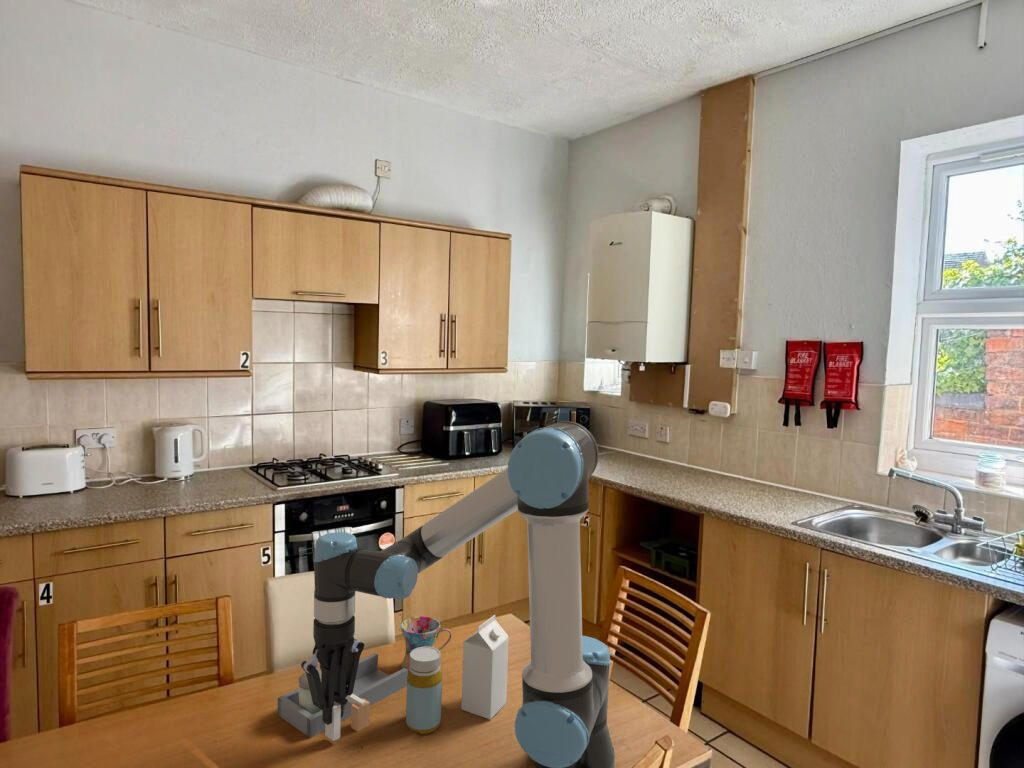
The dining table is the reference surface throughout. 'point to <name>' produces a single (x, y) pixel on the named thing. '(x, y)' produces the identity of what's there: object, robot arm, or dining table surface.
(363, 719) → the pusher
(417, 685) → the bottle
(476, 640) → the milk carton
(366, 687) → the grey tray
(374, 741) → the dining table surface
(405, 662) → the mug
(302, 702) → the jar
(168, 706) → the dining table surface
